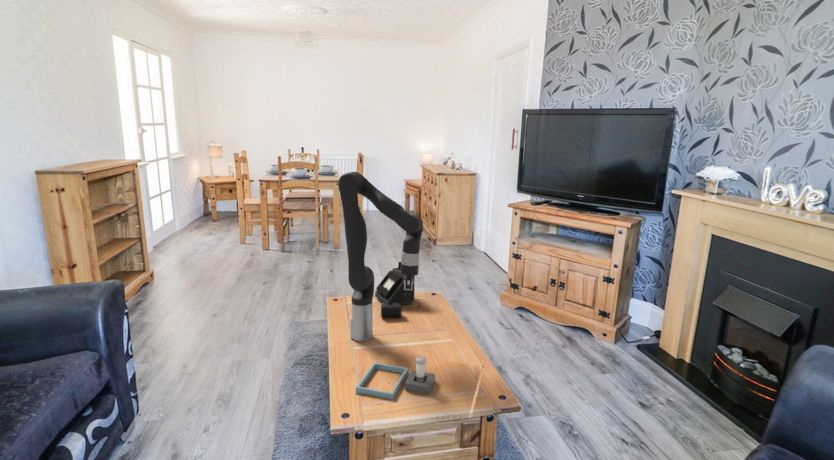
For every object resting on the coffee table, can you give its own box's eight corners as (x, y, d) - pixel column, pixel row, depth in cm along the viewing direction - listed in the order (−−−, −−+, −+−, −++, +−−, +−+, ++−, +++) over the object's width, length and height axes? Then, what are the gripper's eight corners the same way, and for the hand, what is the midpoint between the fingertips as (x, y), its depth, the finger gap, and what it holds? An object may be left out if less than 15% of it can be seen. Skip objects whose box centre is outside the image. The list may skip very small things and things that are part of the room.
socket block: (405, 392, 162) (405, 382, 161) (412, 379, 171) (412, 370, 170) (428, 397, 160) (429, 387, 159) (434, 383, 168) (435, 374, 167)
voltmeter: (374, 298, 249) (374, 264, 244) (400, 294, 257) (400, 260, 252) (387, 309, 235) (387, 273, 231) (414, 303, 243) (414, 268, 239)
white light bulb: (414, 387, 164) (414, 360, 161) (416, 382, 167) (417, 355, 165) (423, 389, 163) (424, 361, 160) (426, 383, 166) (426, 357, 164)
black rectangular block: (381, 320, 222) (381, 307, 220) (380, 314, 229) (380, 302, 227) (401, 319, 223) (401, 306, 222) (399, 313, 230) (399, 301, 229)
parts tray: (355, 394, 161) (355, 387, 160) (374, 369, 177) (374, 362, 177) (392, 401, 157) (392, 394, 156) (407, 375, 174) (407, 368, 173)
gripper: (401, 259, 193) (398, 295, 195) (400, 265, 179) (397, 304, 181) (418, 260, 193) (415, 296, 195) (419, 267, 179) (416, 306, 181)
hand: (407, 300), depth 188 cm, fingers open, 8 cm apart
